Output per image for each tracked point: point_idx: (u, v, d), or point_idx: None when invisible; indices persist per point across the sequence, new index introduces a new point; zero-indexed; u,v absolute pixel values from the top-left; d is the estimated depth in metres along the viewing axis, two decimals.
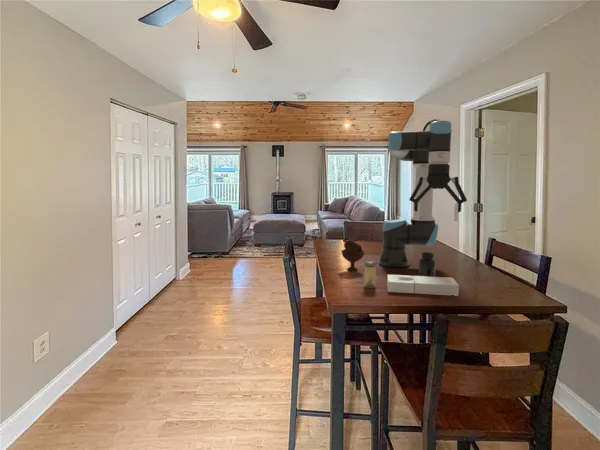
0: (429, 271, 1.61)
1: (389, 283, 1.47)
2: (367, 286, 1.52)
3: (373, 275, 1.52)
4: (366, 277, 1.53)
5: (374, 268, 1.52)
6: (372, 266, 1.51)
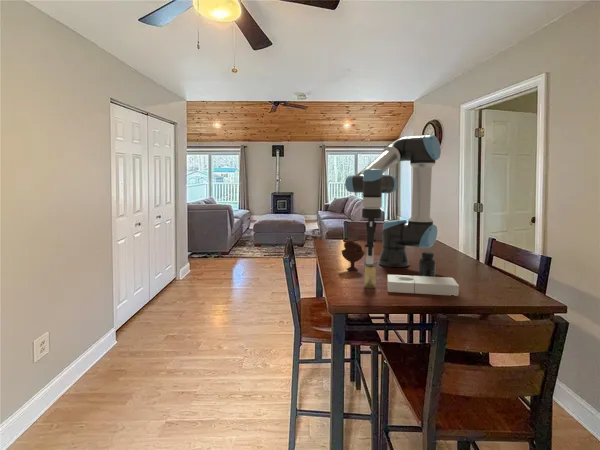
0: (429, 271, 1.61)
1: (389, 283, 1.47)
2: (367, 286, 1.52)
3: (373, 275, 1.52)
4: (366, 277, 1.53)
5: (374, 268, 1.52)
6: (372, 266, 1.51)
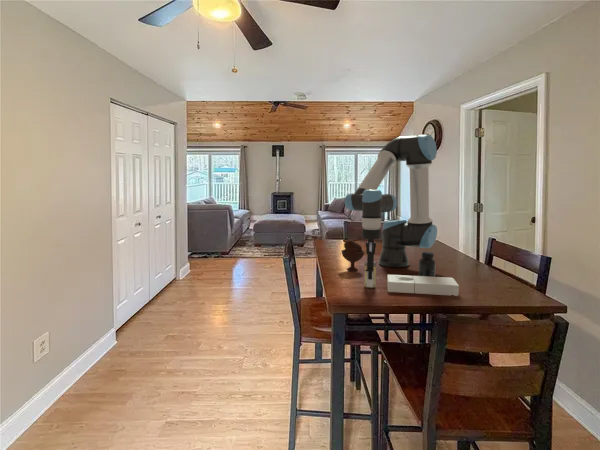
0: (429, 271, 1.61)
1: (389, 283, 1.47)
2: None
3: None
4: (366, 277, 1.53)
5: (374, 268, 1.52)
6: None
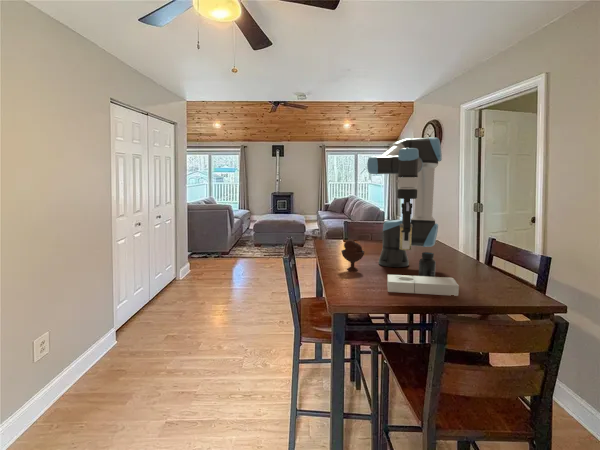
0: (429, 271, 1.61)
1: (389, 283, 1.47)
2: None
3: None
4: None
5: None
6: None
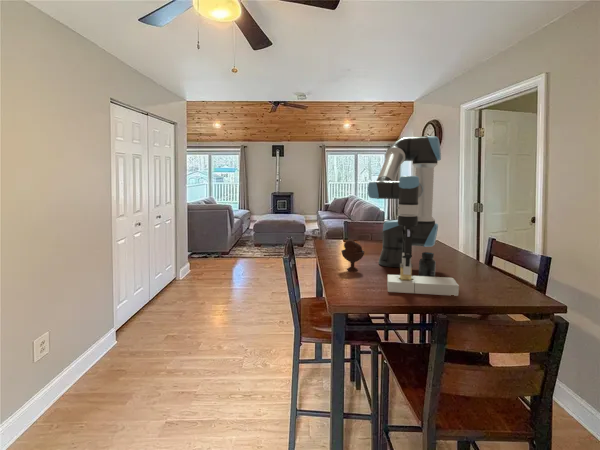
0: (429, 271, 1.61)
1: (389, 283, 1.47)
2: None
3: (409, 277, 1.49)
4: (402, 279, 1.50)
5: None
6: None
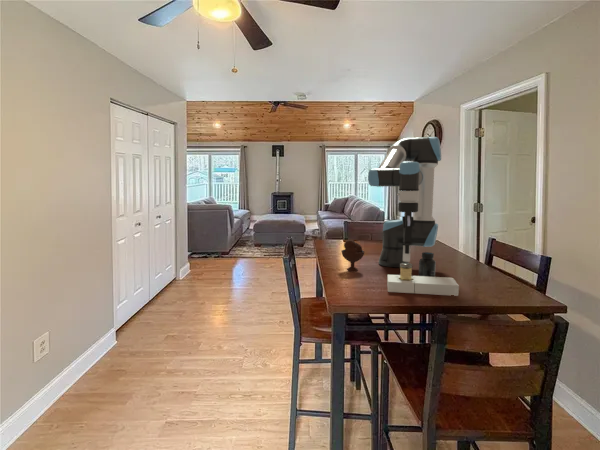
0: (429, 271, 1.61)
1: (389, 283, 1.47)
2: None
3: (409, 277, 1.49)
4: (402, 279, 1.50)
5: (410, 270, 1.49)
6: (408, 268, 1.48)
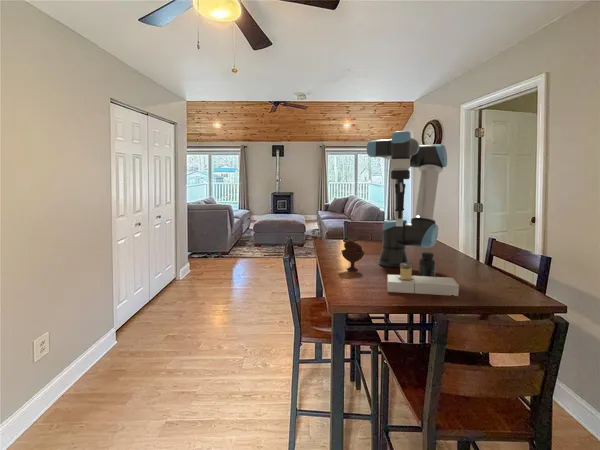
0: (429, 271, 1.61)
1: (389, 283, 1.47)
2: None
3: (409, 277, 1.49)
4: (402, 279, 1.50)
5: (410, 270, 1.49)
6: (408, 268, 1.48)
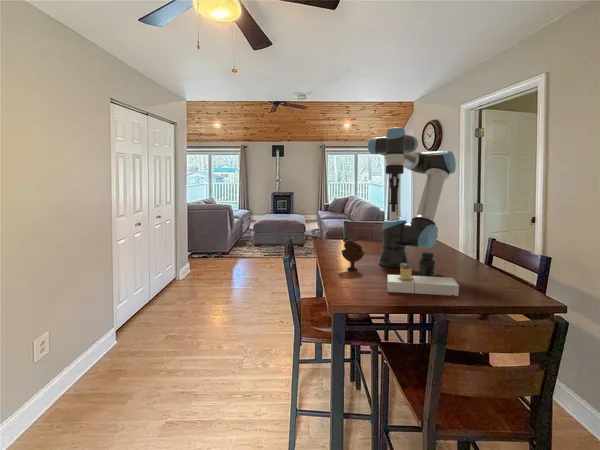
0: (429, 271, 1.61)
1: (389, 283, 1.47)
2: None
3: (409, 277, 1.49)
4: (402, 279, 1.50)
5: (410, 270, 1.49)
6: (408, 268, 1.48)
